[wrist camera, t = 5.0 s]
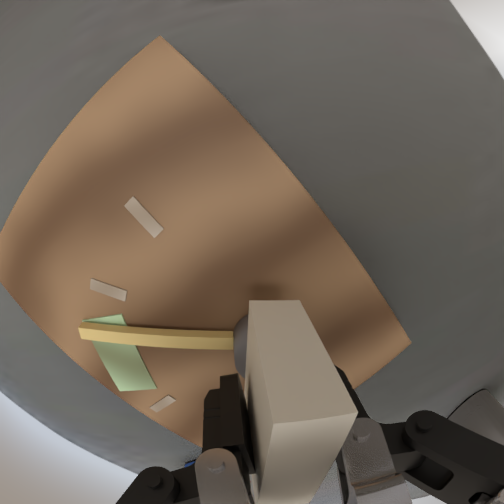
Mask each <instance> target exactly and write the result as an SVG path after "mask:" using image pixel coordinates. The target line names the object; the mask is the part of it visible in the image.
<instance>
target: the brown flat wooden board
mask: <svg viewBox="0 0 504 504" xmlns="http://www.w3.org/2000/svg"><path fill="white" fill-rule="evenodd" d="M0 282H1V283H2V285H3V286H4V287H5V288H6V290H7V291H8V292H9V293H10V295H11V296H12V297H13V298H14V299H15V301H16V302H17V303H18V304H19V305H20V307H21V308H22V309H23V310H24V311H25V312H26V313H27V315H28V316H29V317H30V318H31V319H32V320H33V321H34V322H35V323H36V324H37V325H38V326H39V327H40V329H41V330H42V331H43V332H44V333H45V334H46V335H47V336H48V337H49V338H50V339H51V340H52V341H53V342H54V343H55V344H56V345H57V346H59V347H60V348H61V349H62V350H63V351H64V352H65V353H66V354H67V355H68V356H69V357H70V358H72V359H73V360H74V361H75V362H76V363H77V364H78V365H79V366H81V367H82V368H83V369H84V370H85V371H87V372H88V373H89V374H90V375H91V376H93V377H94V378H95V379H96V380H98V381H99V382H100V383H101V384H103V385H104V386H105V387H106V388H108V389H109V390H110V391H112V392H113V393H114V394H116V395H117V396H118V397H120V398H121V399H123V400H124V401H125V402H127V403H128V404H130V405H131V406H133V407H134V408H136V409H137V410H139V411H140V412H142V413H143V414H145V415H146V416H148V417H149V418H151V419H152V420H154V421H156V422H157V423H159V424H160V425H162V426H164V427H165V428H167V429H169V430H170V431H172V432H174V433H176V434H177V435H179V436H181V437H183V438H185V439H186V440H188V441H190V442H192V443H194V444H196V445H198V446H200V447H202V442H203V420H204V418H203V412H204V399H205V397H206V395H207V393H208V391H209V390H211V389H219V388H220V376H223V375H229V374H235V373H238V371H237V370H236V367H235V360H234V346H233V350H214V349H183V348H165V347H151V346H138V345H128V344H118V343H109V342H101V341H93V340H86V339H81V337H80V333H79V329H78V327H79V326H80V324H81V323H82V322H89V323H98V324H107V325H117V326H129V327H142V328H156V329H175V330H201V331H234V328H235V326H236V324H237V323H238V322H239V320H240V319H242V318H243V317H244V316H245V315H247V314H249V300H300V302H301V304H302V306H303V308H304V309H305V311H306V313H307V315H308V317H309V319H310V321H311V322H312V324H313V326H314V328H315V330H316V332H317V334H318V336H319V337H320V339H321V341H322V343H323V345H324V347H325V349H326V351H327V353H328V355H329V356H330V358H331V360H332V362H333V364H334V365H336V366H337V367H339V368H340V369H341V370H343V371H344V373H345V374H346V376H347V378H348V380H349V382H350V384H351V385H352V388H353V389H355V388H357V387H358V386H359V385H361V384H362V383H363V382H365V381H366V380H367V379H369V378H370V377H371V376H373V375H374V374H375V373H376V372H378V371H379V370H380V369H381V368H383V367H384V366H385V365H386V364H388V363H389V362H390V361H391V360H392V359H394V358H395V357H396V356H397V355H398V354H399V353H401V352H402V351H403V350H404V349H405V348H406V347H407V346H409V345H410V344H411V341H410V339H409V338H408V336H407V334H406V333H405V331H404V329H403V328H402V326H401V324H400V323H399V321H398V320H397V318H396V316H395V315H394V313H393V312H392V310H391V308H390V307H389V305H388V304H387V302H386V301H385V299H384V297H383V296H382V294H381V293H380V291H379V290H378V288H377V287H376V285H375V284H374V282H373V281H372V279H371V278H370V276H369V275H368V273H367V272H366V270H365V269H364V268H363V266H362V265H361V263H360V262H359V260H358V259H357V257H356V256H355V255H354V253H353V252H352V250H351V249H350V248H349V246H348V245H347V243H346V242H345V241H344V239H343V238H342V237H341V235H340V234H339V232H338V231H337V230H336V228H335V227H334V226H333V224H332V223H331V222H330V220H329V219H328V218H327V216H326V215H325V214H324V212H323V211H322V210H321V209H320V207H319V206H318V205H317V203H316V202H315V201H314V200H313V198H312V197H311V196H310V194H309V193H308V192H307V191H306V189H305V188H304V187H303V186H302V184H301V183H300V182H299V181H298V180H297V178H296V177H295V176H294V175H293V173H292V172H291V171H290V170H289V169H288V167H287V166H286V165H285V164H284V163H283V161H282V160H281V159H280V158H279V157H278V156H277V154H276V153H275V152H274V151H273V150H272V149H271V147H270V146H269V145H268V144H267V143H266V142H265V141H264V139H263V138H262V137H261V136H260V135H259V134H258V133H257V132H256V130H255V129H254V128H253V127H252V126H251V125H250V124H249V123H248V122H247V121H246V119H245V118H244V117H243V116H242V115H241V114H240V113H239V112H238V111H237V110H236V109H235V108H234V107H233V106H232V104H231V103H230V102H229V101H228V100H227V99H226V98H225V97H224V96H223V95H222V94H221V93H220V92H219V91H218V90H217V89H216V88H215V87H214V86H213V85H212V84H211V83H210V82H209V81H208V80H207V79H206V78H205V77H204V76H203V75H202V74H201V73H200V72H199V71H198V70H197V69H196V68H195V67H194V66H193V65H192V64H191V63H190V62H188V61H187V60H186V59H185V58H184V57H183V56H182V55H181V54H180V53H179V52H178V51H177V50H176V49H174V48H173V47H172V46H171V45H170V44H169V43H168V42H167V41H166V40H164V39H163V38H162V37H161V36H158V37H157V38H156V39H155V40H153V41H152V42H151V43H150V44H148V45H147V46H146V47H145V48H143V49H142V50H141V51H140V52H139V53H138V54H136V55H135V56H134V57H133V58H132V59H131V60H130V61H128V62H127V63H126V64H125V65H124V66H123V67H122V68H121V69H120V70H119V71H118V72H117V73H116V74H115V75H113V76H112V77H111V78H110V79H109V80H108V81H107V82H106V83H105V84H104V85H103V86H102V87H101V89H100V90H99V91H98V92H97V93H96V94H95V95H94V96H93V97H92V98H91V99H90V100H89V101H88V102H87V104H86V105H85V106H84V107H83V108H82V109H81V110H80V112H79V113H78V114H77V115H76V116H75V117H74V119H73V120H72V121H71V122H70V124H69V125H68V126H67V127H66V129H65V130H64V131H63V132H62V134H61V135H60V136H59V138H58V139H57V140H56V142H55V143H54V144H53V146H52V147H51V148H50V150H49V151H48V153H47V154H46V155H45V157H44V158H43V160H42V161H41V163H40V164H39V166H38V167H37V169H36V170H35V172H34V173H33V175H32V177H31V178H30V180H29V181H28V183H27V185H26V186H25V188H24V190H23V191H22V193H21V195H20V197H19V198H18V200H17V202H16V204H15V206H14V207H13V209H12V211H11V213H10V215H9V217H8V219H7V221H6V223H5V225H4V227H3V229H2V231H1V233H0ZM238 374H239V373H238ZM239 378H240V381H241V385H242V388H243V392H244V389H245V378H243V377H242V376H241V375H240V374H239Z"/></svg>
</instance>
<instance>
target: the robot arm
mask: <svg viewBox="0 0 504 504" xmlns="http://www.w3.org/2000/svg"><path fill="white" fill-rule="evenodd" d="M334 366H335V368H336V370H337V372H338V374H339V376H340V377H341V379H342V381H343V383H344V385H345V387H346V389H347V391H348V393H349V395H350V397H351V399H352V401H353V403H354V405H355V407H356V409H357V411H358V414H357V416H356V418H355V421H354V423H353V425H352V427H351V429H350V431H349V433H348V435H347V437H346V439H345V441H344V443H343V445H342V447H341V449H340V451H339V453H338V455H337V457H336V459H335V460H336V462H337V475H338V481H339V487H340V493H341V500H342V504H412V501H411V497H410V494H409V491H408V487H407V484H406V481H405V480H407V481H409V482H410V483H412V484H413V485H415V486H417V487H418V488H420V489H422V490H424V491H425V492H427V493H429V494H430V495H432V496H434V497H436V498H438V499H440V500H441V501H443V502H445V503H447V504H504V408H503V406H502V405H501V404H500V403H499V402H498V401H497V400H496V399H495V398H494V397H493V396H492V395H491V394H490V392H489V391H488V390H482V391H480V392H478V393H476V394H475V395H473V396H472V397H471V398H469V399H468V400H467V401H466V402H464V403H463V404H462V405H461V406H460V407H459V408H458V409H457V410H456V411H455V412H454V413H453V414H452V415H451V416H450V417H449V418H448V419H446V418H444V417H442V416H440V415H439V414H437V413H435V412H432V411H428V410H422V411H418V412H415V413H414V414H412V415H411V416H410V417H409V418H408V419H407V421H406V422H401V423H393V424H382V423H378V422H376V421H375V420H373V419H371V418H370V417H369V416H368V415H367V413H366V411H365V409H364V407H363V406H362V404H361V402H360V400H359V398H358V396H357V395H356V393H355V391H354V389H353V388H352V385H351V384H350V382H349V380H348V378H347V376H346V374H345V373H344V371H343V370H341V369H340V368H339V367H337V366H336V365H334ZM203 418H204V420H203V442H202V453H201V454H200V455H199V457H198V458H197V459H196V462H194V463H193V464H192V465H190V466H188V467H185V468H182V469H178V470H175V471H171V472H170V471H168V470H167V469H165V468H163V467H156V466H155V467H149V468H146V469H145V470H143V471H142V472H140V474H139V475H138V476H137V477H136V479H135V480H134V481H133V482H132V484H131V485H130V486H129V487H128V489H127V490H126V491H125V493H124V494H123V495H122V496H121V498H120V499H119V500H118V501H117V503H116V504H256V503H255V500H254V497H253V494H252V491H251V484H250V476H249V474H256V471H255V464H254V456H253V448H252V441H251V433H250V425H249V417H248V409H247V404H246V399H245V395H244V392H243V388H242V385H241V381H240V378H239V374H238V373H235V374H229V375H223V376H220V388H219V389H211V390H209V391H208V393H207V395H206V397H205V399H204V412H203Z"/></svg>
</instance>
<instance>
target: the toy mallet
mask: <svg viewBox="0 0 504 504" xmlns="http://www.w3.org/2000/svg"><path fill="white" fill-rule="evenodd" d="M78 329H79V333H80V337H81V339H86V340H93V341H101V342H109V343H118V344H128V345H138V346H151V347H165V348H183V349H214V350H233V346H234V360H235V367H236V370H237V371H238V373H239V374H240V375H241V376H242V377H243V378H245V389H244V395H245V399H246V404H247V409H248V417H249V425H250V433H251V441H252V448H253V456H254V464H255V471H256V474H252V482H253V490H254V498H255V503H256V504H307V503H309V502H310V501H311V499H312V498H313V496H314V495H315V493H316V492H317V490H318V488H319V487H320V485H321V483H322V482H323V480H324V478H325V477H326V475H327V473H328V471H329V470H330V468H331V466H332V464H333V462H334V461H335V459H336V457H337V455H338V453H339V451H340V449H341V447H342V445H343V443H344V441H345V439H346V437H347V435H348V433H349V431H350V429H351V427H352V425H353V423H354V421H355V418H356V416H357V414H358V411H357V409H356V407H355V405H354V403H353V401H352V399H351V397H350V395H349V393H348V391H347V389H346V387H345V385H344V383H343V381H342V379H341V377H340V376H339V374H338V372H337V370H336V368H335V366H334V364H333V362H332V360H331V358H330V356H329V355H328V353H327V351H326V349H325V347H324V345H323V343H322V341H321V339H320V337H319V336H318V334H317V332H316V330H315V328H314V326H313V324H312V322H311V321H310V319H309V317H308V315H307V313H306V311H305V309H304V308H303V306H302V304H301V302H300V300H249V314H247V315H245V316H244V317H243V318H242V319H240V320H239V322H238V323H237V324H236V326H235V328H234V331H201V330H175V329H156V328H142V327H129V326H117V325H107V324H98V323H89V322H82V323H81V324H80V326H79V327H78Z"/></svg>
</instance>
